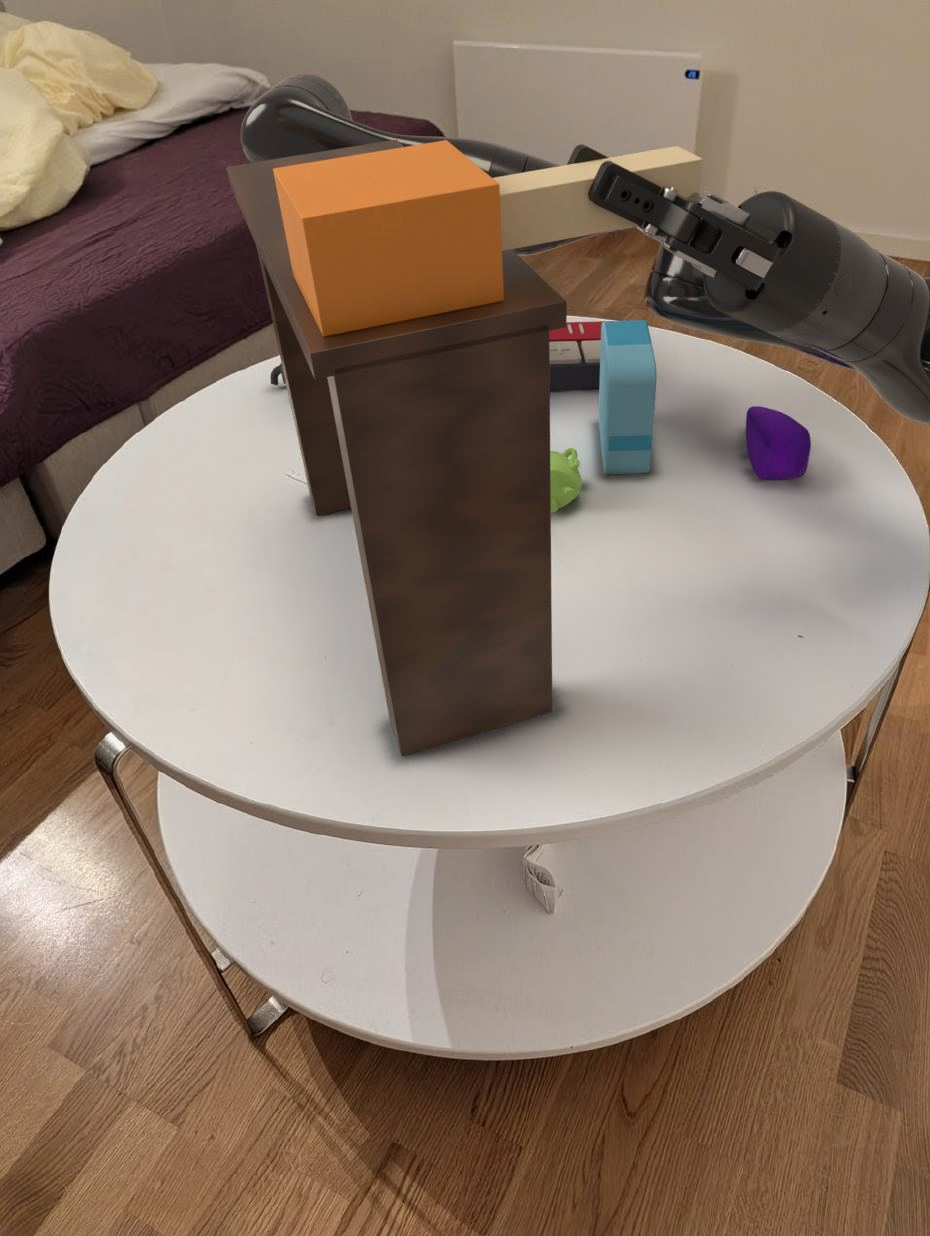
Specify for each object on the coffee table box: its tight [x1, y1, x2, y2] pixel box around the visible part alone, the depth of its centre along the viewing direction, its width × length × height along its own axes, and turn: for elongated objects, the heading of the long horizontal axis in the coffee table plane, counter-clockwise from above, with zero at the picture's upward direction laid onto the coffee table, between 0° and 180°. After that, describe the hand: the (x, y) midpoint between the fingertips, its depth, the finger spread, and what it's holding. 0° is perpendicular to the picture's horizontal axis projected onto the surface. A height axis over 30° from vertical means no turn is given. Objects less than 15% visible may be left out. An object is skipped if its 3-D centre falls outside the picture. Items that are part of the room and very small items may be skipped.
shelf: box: [226, 140, 568, 756], centre depth 71 cm, size 14×36×32 cm, turn 18°
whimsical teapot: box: [550, 447, 583, 513], centre depth 89 cm, size 6×5×6 cm
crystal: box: [745, 405, 812, 481], centre depth 93 cm, size 5×5×15 cm
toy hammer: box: [273, 140, 704, 337], centre depth 51 cm, size 23×9×6 cm, turn 108°
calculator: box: [549, 320, 607, 390], centre depth 110 cm, size 11×4×15 cm
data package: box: [598, 319, 658, 475], centre depth 93 cm, size 12×4×12 cm, turn 177°
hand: (584, 171), depth 51 cm, fingers closed on toy hammer, 3 cm apart
